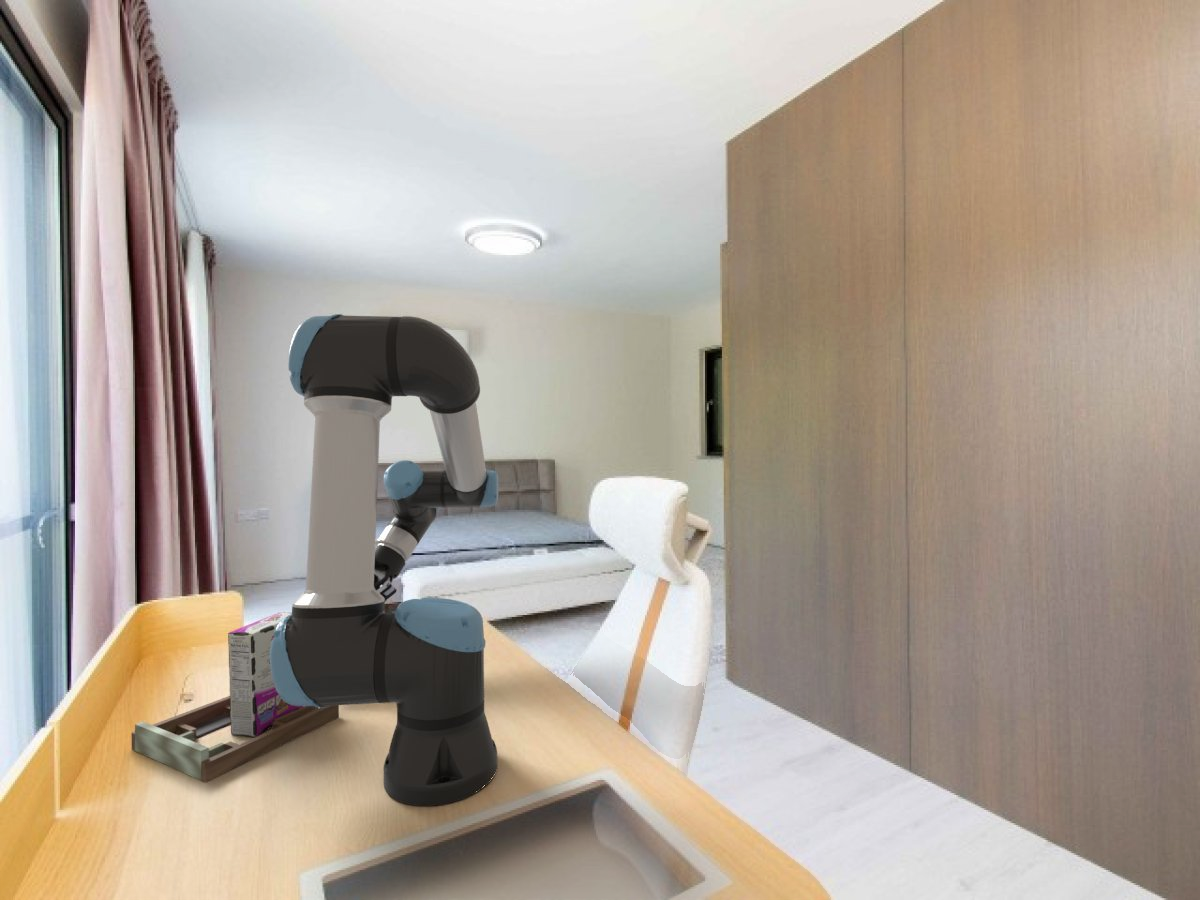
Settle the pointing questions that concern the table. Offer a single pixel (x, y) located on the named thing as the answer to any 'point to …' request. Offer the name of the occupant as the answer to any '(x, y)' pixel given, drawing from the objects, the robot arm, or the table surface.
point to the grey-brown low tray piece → (180, 751)
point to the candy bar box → (254, 678)
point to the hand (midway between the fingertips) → (318, 661)
